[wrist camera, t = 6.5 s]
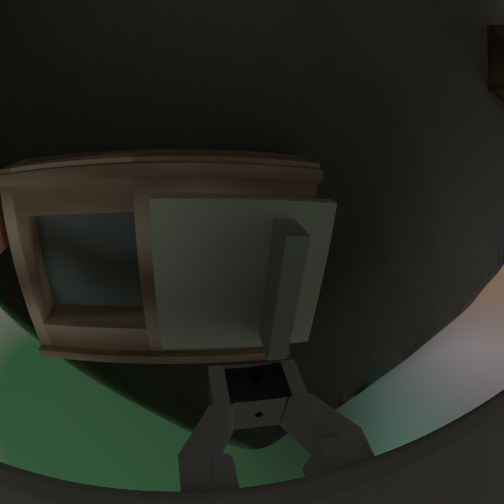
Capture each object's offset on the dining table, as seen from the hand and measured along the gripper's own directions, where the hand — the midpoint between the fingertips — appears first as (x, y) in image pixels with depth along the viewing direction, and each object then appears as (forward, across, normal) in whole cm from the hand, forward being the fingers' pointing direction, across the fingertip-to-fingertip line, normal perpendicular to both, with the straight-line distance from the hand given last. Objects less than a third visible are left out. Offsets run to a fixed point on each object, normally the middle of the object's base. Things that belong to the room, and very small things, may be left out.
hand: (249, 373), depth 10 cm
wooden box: (+12, +4, +2) cm, 13 cm away
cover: (+8, -1, +1) cm, 9 cm away
